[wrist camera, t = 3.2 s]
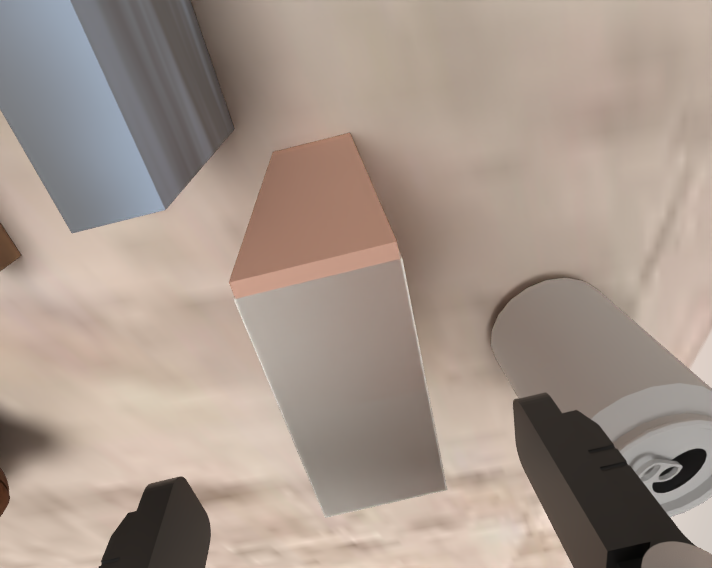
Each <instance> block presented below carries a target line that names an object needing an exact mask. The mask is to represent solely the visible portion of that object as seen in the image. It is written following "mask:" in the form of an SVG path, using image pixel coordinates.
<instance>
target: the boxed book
mask: <svg viewBox="0 0 712 568" xmlns="http://www.w3.org/2000/svg"><path fill="white" fill-rule="evenodd" d="M229 284H230V286H231V289H232V291H233V294H234V301H235V304H236V306H237V309H238V311H239V313H240V316H241V318H242V321H243V323H244V325H245V328H246V330H247V332H248V335H249V337H250V340H251V342H252V344H253V347H254V349H255V352H256V354H257V356H258V359H259V361H260V363H261V366H262V368H263V371H264V373H265V375H266V378H267V380H268V383H269V385H270V387H271V390H272V392H273V394H274V397H275V399H276V402H277V404H278V406H279V409H280V411H281V413H282V416H283V418H284V421H285V423H286V425H287V428H288V430H289V433H290V435H291V437H292V440H293V442H294V444H295V447H296V449H297V452H298V454H299V456H300V459H301V461H302V464H303V466H304V468H305V471H306V473H307V475H308V478H309V480H310V483H311V485H312V487H313V490H314V492H315V495H316V497H317V499H318V502H319V504H320V506H321V509H322V511H323V514H324V516H325V518H326V517H331V516H335V515H340V514H344V513H348V512H353V511H357V510H361V509H366V508H370V507H375V506H379V505H383V504H388V503H392V502H397V501H401V500H405V499H410V498H414V497H419V496H423V495H427V494H432V493H436V492H441V491H445V490H447V485H446V480H445V475H444V470H443V465H442V460H441V455H440V449H439V444H438V439H437V434H436V429H435V424H434V419H433V413H432V408H431V403H430V398H429V393H428V388H427V382H426V377H425V372H424V367H423V362H422V357H421V352H420V346H419V341H418V336H417V331H416V326H415V321H414V316H413V310H412V305H411V300H410V295H409V290H408V285H407V280H406V274H405V269H404V264H403V259H402V256H401V254H400V251H399V249H398V245H397V241H396V238H395V236H394V234H393V231H392V229H391V227H390V224H389V222H388V220H387V217H386V215H385V213H384V211H383V208H382V206H381V204H380V201H379V199H378V197H377V194H376V192H375V190H374V187H373V185H372V183H371V180H370V178H369V176H368V173H367V171H366V169H365V166H364V164H363V162H362V160H361V157H360V155H359V153H358V150H357V148H356V146H355V143H354V141H353V139H352V136H351V134H350V133H347V134H343V135H339V136H335V137H331V138H327V139H323V140H319V141H315V142H311V143H307V144H303V145H299V146H295V147H291V148H287V149H283V150H279V151H275V152H273V153H272V156H271V159H270V162H269V165H268V168H267V171H266V174H265V177H264V180H263V183H262V186H261V189H260V192H259V195H258V198H257V200H256V203H255V206H254V209H253V212H252V215H251V218H250V221H249V224H248V227H247V230H246V233H245V236H244V239H243V242H242V245H241V248H240V251H239V254H238V257H237V260H236V263H235V266H234V269H233V272H232V275H231V278H230V281H229Z"/></svg>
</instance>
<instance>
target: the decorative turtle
mask: <svg viewBox="0 0 712 568" xmlns="http://www.w3.org/2000/svg"><path fill="white" fill-rule="evenodd" d="M9 500H10V496H9V486H8V482H7V479H6V476H5V474H4V472H3V471H2V469H1V468H0V517H1V515H2V514H3V512H4V510H5V509H6V507H7V505H8V503H9Z"/></svg>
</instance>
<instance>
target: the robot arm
mask: <svg viewBox="0 0 712 568" xmlns="http://www.w3.org/2000/svg"><path fill="white" fill-rule="evenodd" d="M513 410H514V425H515V439H516V447H517V452H518V455H519V458H520V461H521V464H522V466H523V469H524V471H525V473H526V475H527V477H528V479H529V481H530V483H531V485H532V487H533V489H534V491H535V493H536V494H537V496H538V498H539V500H540V502H541V504H542V506H543V508H544V510H545V512H546V514H547V516H548V518H549V520H550V522H551V524H552V526H553V528H554V530H555V532H556V534H557V536H558V538H559V540H560V542H561V544H562V546H563V548H564V549H565V551H566V553H567V555H568V557H569V559H570V561H571V563H572V565H573V567H574V568H712V555H711V554H710V553H709V552H707V551H704V550H703V549H701V548H698V547H697V546H695V545H694V544H693V543H691V541H689V540H688V539H687V538H686V537H685V536H684V535H683V533H681V531H680V530H679V529H678V528H677V526H676V525H675V523H674V522H673V521H672V520H671V518H670V517H669V516H668V514H667V513H666V512H665V510H664V509H663V508H662V506H661V505H660V504H659V503H658V501H657V500H656V499H655V497H654V496H653V495H652V493H651V492H650V491H649V489H648V488H647V487H646V486H645V484H644V483H643V482H642V480H641V479H640V478H639V476H638V475H637V474H636V473H635V471H634V470H633V469H632V467H631V466H630V465H628V464H627V461H626V459H625V458H624V457H623V456H622V454H621V453H620V452H619V450H618V449H616V448H615V447H614V444H613V443H612V441H611V440H610V439H609V437H608V436H607V435H606V433H605V432H604V431H603V429H602V428H601V427H600V426H599V424H597V423H596V422H594V421H593V420H591V419H590V418H588V417H587V416H585V415H584V414H582V413H581V412H579V411H578V410H574V411H569V412H565V413H562V412H561V411H560V409H559V408H558V406H557V405H556V403H555V402H554V401H553V399H552V398H551V396H550V395H549V394H548V393H546V392H544V393H540V394H536V395H531V396H527V397H523V398H519V399H515V400H514V401H513ZM210 537H211V530H210V522H209V518H208V515H207V513H206V511H205V510H204V508H203V507H202V505H201V503H200V502H199V500H198V498H197V497H196V495H195V493H194V492H193V490H192V488H191V487H190V485H189V484H188V482H187V480H186V479H185V478H184V477H176V478H172V479H168V480H164V481H159V482H155V483H151V484H149V485H148V486H147V487H146V488H145V490H144V492H143V495H142V498H141V500H140V503H139V506H138V509H137V511H135V512H131V513H128V514H127V515H126V517H125V518H124V519H123V521H122V522H121V524H120V525H119V526H118V528H117V529H116V530H115V532H114V533H113V535H112V536H111V538H110V540H109V543H108V545H107V548H106V550H105V553H104V555H103V558H102V560H101V562H102V565H101V566H99V568H205V565H206V560H207V555H208V550H209V545H210Z"/></svg>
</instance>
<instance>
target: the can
mask: <svg viewBox="0 0 712 568" xmlns="http://www.w3.org/2000/svg"><path fill="white" fill-rule="evenodd" d="M491 347H492V350H493V353H494V355H495V358H496V360H497V362H498V364H499V365H500V367H501V369H502V370H503V372H504V374H505V376H506V377H507V379H508V381H509V382H510V384H511V386H512V388H513V389H514V391H515V393H516V394H517V396H518V398H523V397H527V396H531V395H536V394H540V393H544V392H546V393H548V394H549V395H550V396H551V398H552V399H553V401H554V402H555V403H556V405H557V406H558V408H559V409H560V411H561V412H562V413H565V412H569V411H574V410H578V411H579V412H581V413H582V414H584V415H585V416H587V417H588V418H590V419H591V420H593V421H594V422H596V423H597V424H599V426H600V427H601V428H602V429H603V431H604V432H605V433H606V435H607V436H608V437H609V439H610V440H611V441H612V443H613V444H614V447H615V448H616V449H618V450H619V452H620V453H621V454H622V456H623V457H624V458H625V459H626V461H627V464H628V465H630V466H631V467H632V469H633V470H634V471H635V473H636V474H637V475H638V476H639V478H640V479H641V480H642V482H643V483H644V484H645V486H646V487H647V488H648V489H649V491H650V492H651V493H652V495H653V496H654V497H655V499H656V500H657V501H658V503H659V504H660V505H661V506H662V508H663V509H664V510H665V512H666V513H667V514H668V516H669V517H672V516H675V515H678V514H681V513H684V512H686V511H688V510H690V509H692V508H694V507H696V506H698V505H700V504H702V503H704V502H705V501H707V500H708V499H709V498H711V497H712V388H710V387H709V386H708V385H707V384H706V383H705V382H703V381H702V380H701V379H700V378H699V377H698V376H696V375H695V374H694V373H693V372H692V371H691V370H690V369H689V368H687V367H686V366H685V365H684V364H683V363H682V362H680V361H679V360H678V359H677V358H676V357H675V356H674V355H672V354H671V353H670V352H669V351H668V350H667V349H665V348H664V347H663V346H662V345H661V344H660V343H659V342H657V341H656V340H655V339H654V338H653V337H652V336H651V335H649V334H648V333H647V332H646V331H645V330H644V329H642V328H641V327H640V326H639V325H638V324H637V323H636V322H634V321H633V320H632V319H631V318H630V317H629V316H627V315H626V314H625V313H624V312H623V311H622V310H621V309H619V308H618V307H617V306H616V305H615V304H614V303H613V302H611V301H610V300H609V299H608V298H607V297H606V296H604V295H603V294H602V293H601V292H600V291H599V290H598V289H596V288H595V287H593V286H591V285H590V284H588V283H586V282H584V281H582V280H576V279H571V278H559V279H551V280H545V281H543V282H540V283H538V284H535V285H533V286H530V287H528V288H526V289H525V290H523V291H522V292H521V293H519V294H518V295H517V296H515V297H514V298H512V299H511V300H510V301H509V302H508V304H507V305H506V306H505V307H504V308H503V310H502V311H501V312H500V313H499V315H498V317H497V319H496V322H495V324H494V326H493V329H492V336H491Z"/></svg>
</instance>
